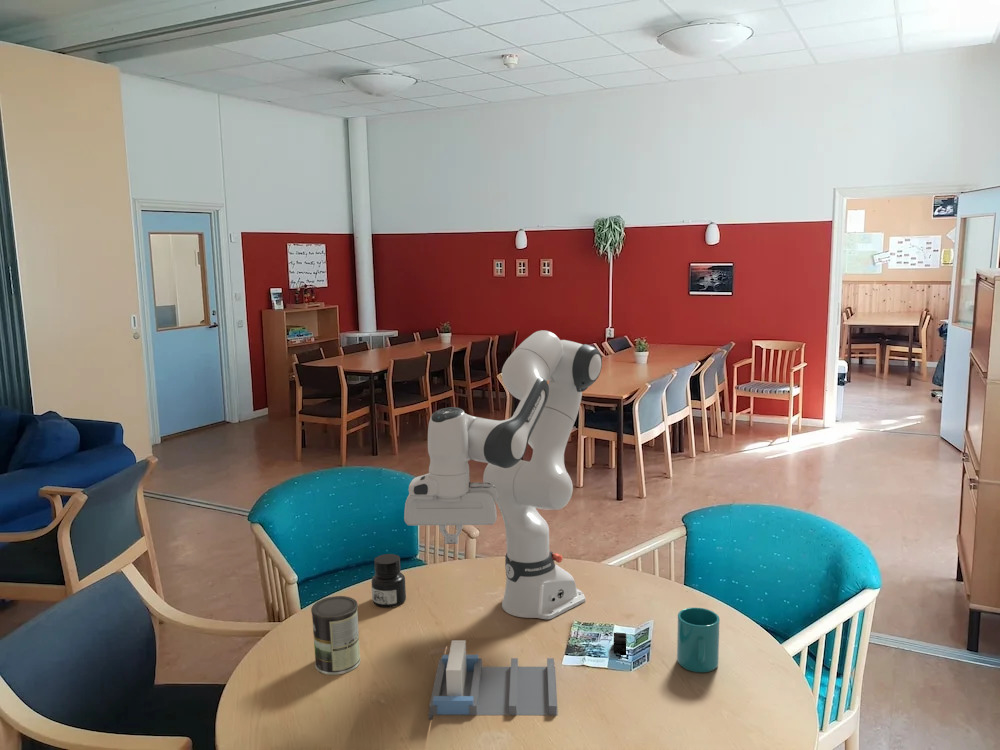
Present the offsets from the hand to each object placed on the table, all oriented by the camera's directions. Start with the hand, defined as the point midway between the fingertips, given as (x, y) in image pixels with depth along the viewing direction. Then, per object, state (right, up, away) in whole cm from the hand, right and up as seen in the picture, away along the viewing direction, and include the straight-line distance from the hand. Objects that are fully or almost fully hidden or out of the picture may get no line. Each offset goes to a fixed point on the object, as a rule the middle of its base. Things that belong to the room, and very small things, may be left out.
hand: (451, 543), depth 173 cm
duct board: (+10, -31, -7) cm, 33 cm away
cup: (+55, -28, +2) cm, 62 cm away
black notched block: (+38, -28, +8) cm, 48 cm away
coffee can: (-27, -29, +7) cm, 40 cm away
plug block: (+2, -30, -7) cm, 30 cm away
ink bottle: (-19, -24, +37) cm, 48 cm away
